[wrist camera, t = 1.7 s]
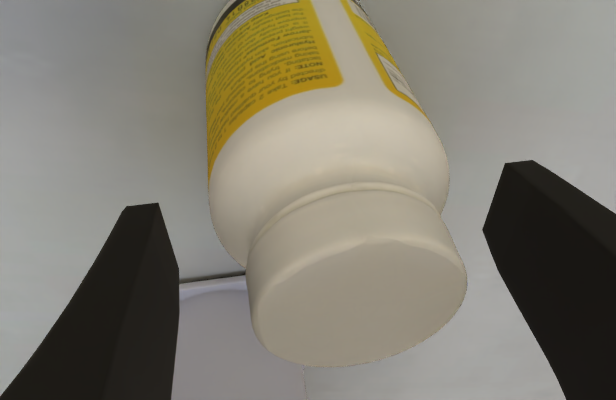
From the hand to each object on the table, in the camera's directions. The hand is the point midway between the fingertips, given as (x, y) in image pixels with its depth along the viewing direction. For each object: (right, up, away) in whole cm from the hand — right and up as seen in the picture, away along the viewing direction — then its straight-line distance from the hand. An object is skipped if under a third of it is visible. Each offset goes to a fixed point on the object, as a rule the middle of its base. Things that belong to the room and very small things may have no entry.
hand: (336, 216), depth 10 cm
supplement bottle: (-1, +5, +6) cm, 8 cm away
